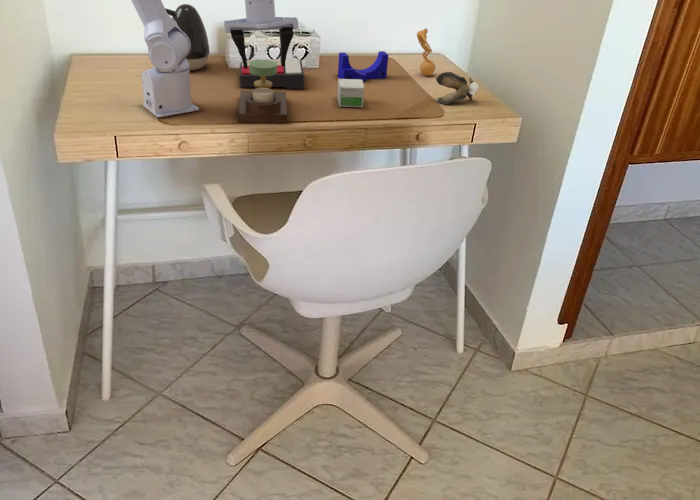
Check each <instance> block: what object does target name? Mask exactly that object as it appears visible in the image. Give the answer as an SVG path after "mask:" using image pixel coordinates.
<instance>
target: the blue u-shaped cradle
mask: <svg viewBox="0 0 700 500" xmlns="http://www.w3.org/2000/svg"><path fill="white" fill-rule="evenodd" d="M349 57H350V56H349V55H348V54H347V53H346V52H345V51H344V52H338V65H337V66H338V67H337V77H338V79H360V80H363V82H367V80H379V79H382V80H383V79H387V75H388V64H389V54H388V53H387V52H386V51H384V50H382V51H381V50H380V51H378V53H377V57H376V58H375V60H374V62H373V63H372V64H371V65H370V66H369V67H366V68H364V69H358V68H354V67H353V66H352V65H351V63H350V58H349Z"/></svg>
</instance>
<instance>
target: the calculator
mask: <svg viewBox="0 0 700 500" xmlns="http://www.w3.org/2000/svg"><path fill="white" fill-rule="evenodd" d="M246 60H247V67H248V69H244V66H243V61H241V62H240V64H239V75H238V76H239V77H238V78H239V87H240V88H242V89H243V88H244V89H245V88H246V89H247V88H248V89H249V88H250V89H251V88H253V89H254V88H256V87H255V86H254V82H255V81H257V80H261V76H256V75H253V74H251V73H250V72H249V63H250V62H251V61H254V60H255V59H246ZM266 60H270V61H273V62H275V63H277V73H276V74H275V75H272V76H266V80H268V81H271V82H272V87H271V88H285V89H287V90H304V89H305V75H304V68H303V62H302V60H300V59H286V62H285V66H282V65H281V59H280V58H278V59H277V58H274V59H272V58H271V59H268V58H267V59H266Z"/></svg>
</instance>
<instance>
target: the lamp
mask: <svg viewBox="0 0 700 500" xmlns="http://www.w3.org/2000/svg"><path fill="white" fill-rule="evenodd" d="M253 60H254V61H251V62H250V63H249V72H250V73H251V74H253V75H256V76H261V80H257V81H255V82H254V86H255V87H254V88H269V89H271V88H273V87H272V82H271V81H268V80H266V76H272V75H275V74H276V73H277V63H275V62H273V61H270V60H267V59H253Z"/></svg>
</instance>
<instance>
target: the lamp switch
mask: <svg viewBox="0 0 700 500" xmlns="http://www.w3.org/2000/svg"><path fill="white" fill-rule="evenodd" d="M251 91H252V92H253V101H254V102H258V103H270V102H273V101H274V92H275V91H274V90H273V89H272V88H257V87H255V88H253V90H251Z"/></svg>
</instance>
